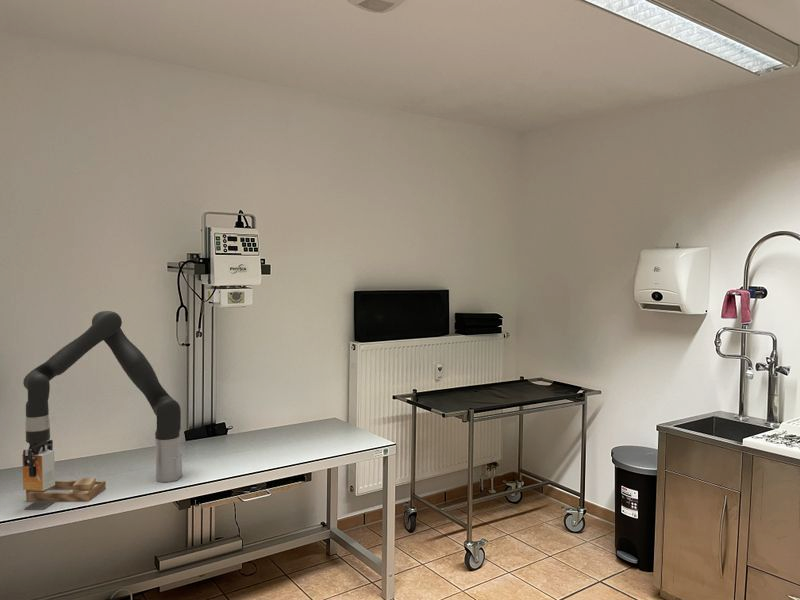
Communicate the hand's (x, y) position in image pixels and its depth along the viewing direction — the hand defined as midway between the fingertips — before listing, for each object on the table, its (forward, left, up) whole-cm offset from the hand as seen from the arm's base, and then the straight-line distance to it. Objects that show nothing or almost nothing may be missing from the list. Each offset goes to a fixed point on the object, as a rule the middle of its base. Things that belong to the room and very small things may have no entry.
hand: (39, 473), depth 218 cm
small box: (0, 0, -6) cm, 6 cm away
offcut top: (-11, -11, -9) cm, 18 cm away
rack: (-4, -10, -12) cm, 16 cm away
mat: (0, 0, -12) cm, 12 cm away
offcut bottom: (-11, -11, -12) cm, 19 cm away
